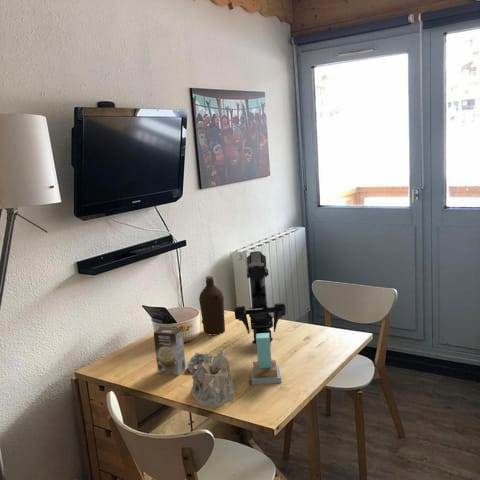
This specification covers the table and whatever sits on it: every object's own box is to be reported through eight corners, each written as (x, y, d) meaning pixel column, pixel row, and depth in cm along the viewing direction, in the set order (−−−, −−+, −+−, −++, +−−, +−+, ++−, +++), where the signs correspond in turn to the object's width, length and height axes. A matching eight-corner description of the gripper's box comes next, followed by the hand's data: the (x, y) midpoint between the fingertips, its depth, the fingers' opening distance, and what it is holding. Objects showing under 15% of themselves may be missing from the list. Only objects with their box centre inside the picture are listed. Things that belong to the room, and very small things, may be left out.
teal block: (258, 363, 187) (256, 333, 185) (271, 362, 186) (269, 332, 184) (258, 368, 182) (256, 338, 180) (271, 367, 182) (269, 337, 180)
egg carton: (204, 374, 192) (202, 363, 191) (185, 373, 194) (184, 362, 194) (214, 362, 202) (213, 352, 201) (196, 360, 204) (195, 350, 203)
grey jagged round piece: (202, 380, 186) (198, 341, 183) (243, 388, 179) (240, 348, 175) (177, 403, 173) (172, 361, 169) (220, 413, 166) (216, 370, 162)
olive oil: (231, 328, 235) (226, 274, 231) (217, 337, 226) (212, 280, 222) (211, 326, 241) (206, 273, 236) (197, 334, 232) (192, 279, 227)
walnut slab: (254, 378, 181) (253, 371, 180) (253, 368, 189) (253, 361, 188) (277, 376, 181) (276, 369, 180) (276, 366, 188) (275, 360, 188)
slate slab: (252, 386, 180) (251, 379, 180) (251, 373, 190) (251, 367, 190) (281, 384, 180) (280, 377, 180) (279, 371, 190) (278, 365, 189)
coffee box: (157, 373, 195) (152, 332, 192) (164, 366, 201) (160, 326, 198) (179, 375, 192) (174, 333, 189) (186, 368, 198) (182, 327, 195)
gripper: (283, 302, 205) (287, 339, 197) (235, 305, 206) (237, 343, 197) (283, 288, 196) (287, 327, 187) (233, 292, 197) (235, 331, 188)
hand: (261, 332), depth 190 cm, fingers open, 9 cm apart
